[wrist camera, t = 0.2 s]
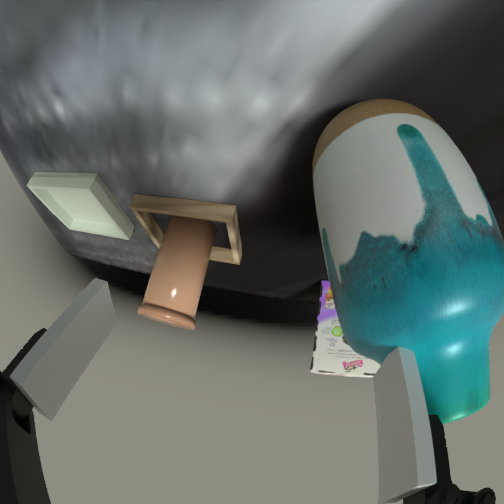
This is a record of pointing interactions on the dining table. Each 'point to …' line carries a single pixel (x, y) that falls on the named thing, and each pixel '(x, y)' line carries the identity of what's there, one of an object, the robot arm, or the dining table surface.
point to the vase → (410, 248)
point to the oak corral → (192, 209)
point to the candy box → (336, 344)
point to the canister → (179, 272)
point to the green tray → (82, 203)
